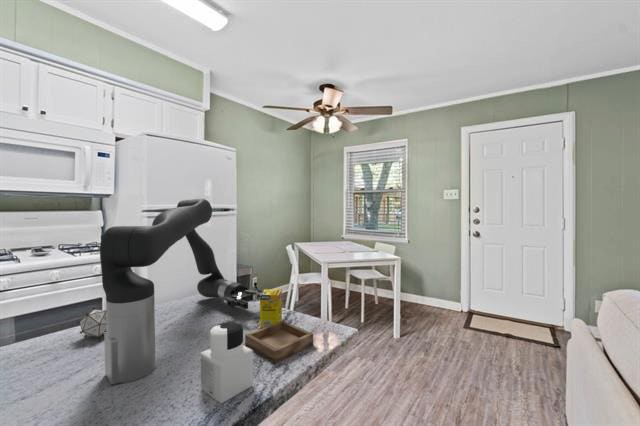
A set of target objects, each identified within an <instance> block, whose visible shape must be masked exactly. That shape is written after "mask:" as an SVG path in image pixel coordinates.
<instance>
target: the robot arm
mask: <svg viewBox="0 0 640 426" xmlns="http://www.w3.org/2000/svg"><path fill="white" fill-rule="evenodd" d="M212 214H213V208H212V205H211V203H210V201H208V200H207V199H205V198H195V199H194V198H193V199H192V198H191V199H184V200H180V201H179V202H178V203H177V206H176V207H174V208H168V209H167V210H165V211H162V212H161V213H159V214H157V215H156V216H155V217H154V219H153V221H152V224H151V225H135V226H134V225H132V226H131V225H118V226H117V225H115V226H111V227H109V228H107V229H106V230H105V231H104V232H103V234H102V235H101V239H100V244H99V260H100V269H101V284H102V288H103V291H104V293H105V307H106V309H105V311H106V320H107V330H106V331H107V332H104V333H103V335H104V375H105V374H106V375H105V376H107V377H106V378H107V381H108V382H109V384H110V383H111V384H114V385H116V384H115V383H117V384H122V383H129V382H134V381H136V380H137V381H138V380H139V379H142V378H143V377H146V376H147V375H149V374H150V373H152V372H153V371H154V370H155V369H156V359H157V357H156V355H157V354H156V322H155V321H156V317H155V316H156V315H155V314H156V313H155V310H156V308H155V307H156V306H155V284H154V281H152V280H151V279H148V278H145V277H142V276H141V275H138V274H137V273H135V272H134V271H133V270H132V268H143V267H149V266H151V265H153V264H155V263H156V262H158V260H160V259H161V257H162V256H164V254H165V253H166V252H167V251H168V250H169V249H170V248H171V247H172V246H173V245H174V244H176V243H177V242H179V241H181V240H182V239H183V238H184V237H186V240H187V242H188V245H189V246H190V249H191V251H192V254H193V257H194V260H195V264H196V269H197V271H198V273H199V274H200V275H202V276H206V277H204V278H202V279H200V280H199V281H198V283H197V285H196V287H197V288H196V290H197V292H198V293H199V294H200V295H201V296H202V297H205V298H218V299H220V300H222V301H223V302H224V303H223V305H225V306H226V307H228V308H230V309H234V308H242V309H244V310H248V309H249V302H250V303H251V302H255V303H256V302H258V301H260V294H261V293H262V292H263V291H264V289H260V288H255V290H250V289H248V287H247V286H246V285H244V284H242V283H239V282H237V281H232V280H228V279H225V278H224V275H223V274H222V273H221V271H220V269H219V267H218V265H217V261H216V258H215V253H214V251H213V248H212V247H211V246H210V245H209V244H208V243H207V241H205V240H204V239H203V238H202V237H201V235H199V233H198V232H197V231H196V228H198V227H199V226H202V225H203V224H207V223H208V222H209V221H210V220H211V219H212V216H213V215H212ZM207 275H208V276H207ZM111 384H110V385H111Z"/></svg>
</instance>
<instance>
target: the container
mask: <svg viewBox="0 0 640 426" xmlns="http://www.w3.org/2000/svg"><path fill="white" fill-rule="evenodd" d="M209 345H210V346H209V349H206V350H204V351H201V353H200V389H201V390H202V391H204V392H205V393H207V394H208V395H209V396H211V397H212V398H213V399H214V400H215V401H217V402H218V403H220V404H223V403H225V402H227V401H229V400H231V399H233V398H234V397H236V396H237V395H239V394H241V393H242V392H244V391H246V390H247V389H249V388H251V387H252V386H253V385H254V351H253V350H252V349H250V348H248V347H247V346H245V344H244V326H243V325H241V324H240V323H239V322H234V321H226V322H225V321H224V322H221V323H219V324H216V325H214V326H213V327H212V328H211V330H210V331H209Z"/></svg>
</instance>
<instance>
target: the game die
mask: <svg viewBox="0 0 640 426" xmlns="http://www.w3.org/2000/svg"><path fill="white" fill-rule="evenodd" d="M76 323H77V324H79V325H80V330H81V331H79V334H84V335H85V336H84V337H86V338H87V337H94V338H95V337H96V338H97V339H98V340H100V339H101V336H102V335H104V334H105V332H107V320H106V309H105V310H104V309H103V310H102V309H96V307H93V309H92V310H91V311H90V312H89V313H88V312H85V317H83V318H82V319H80V321H79V320H77V321H76Z"/></svg>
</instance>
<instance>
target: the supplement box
mask: <svg viewBox="0 0 640 426" xmlns="http://www.w3.org/2000/svg"><path fill="white" fill-rule="evenodd" d="M263 290H264V291H263V292H262V293H261V294H260V297H259V298H260V300H259V329H262V328H265V327H267V326H270V325H273V324H276V323H278V322H281V321H283V319H282V317H283V307H282V305H283V303H282V302H283V301H282V299H283V298H282V297H283V295H282V293H283V290H282V289H263Z"/></svg>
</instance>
